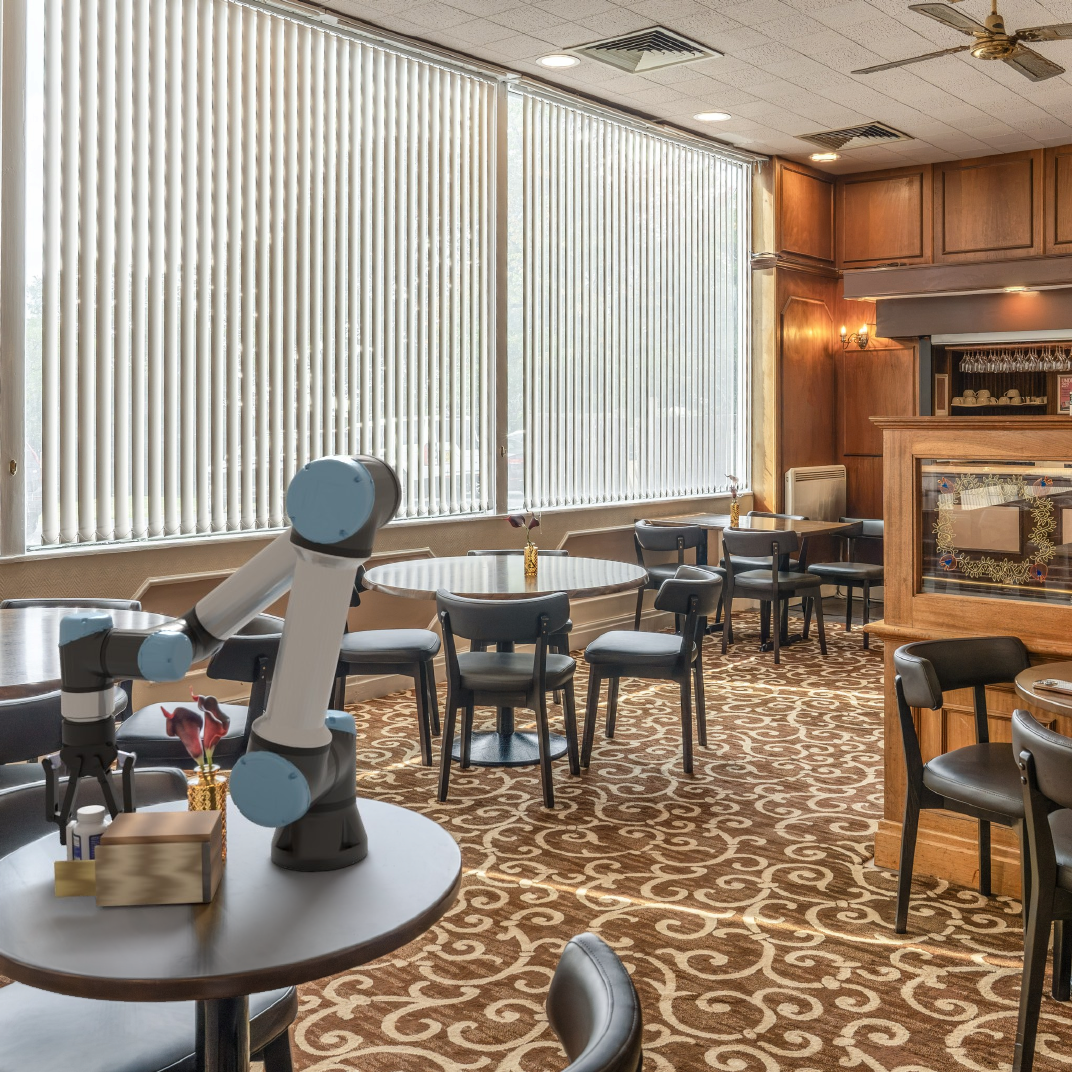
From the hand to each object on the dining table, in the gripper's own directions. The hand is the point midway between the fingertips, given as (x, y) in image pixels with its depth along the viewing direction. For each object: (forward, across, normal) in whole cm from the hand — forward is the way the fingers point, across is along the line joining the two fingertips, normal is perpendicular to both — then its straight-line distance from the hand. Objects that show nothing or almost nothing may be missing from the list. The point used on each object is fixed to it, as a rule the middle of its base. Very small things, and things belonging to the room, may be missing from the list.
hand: (93, 863), depth 172 cm
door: (0, -10, +15) cm, 18 cm away
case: (+1, -12, +9) cm, 15 cm away
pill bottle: (0, 0, 0) cm, 0 cm away
